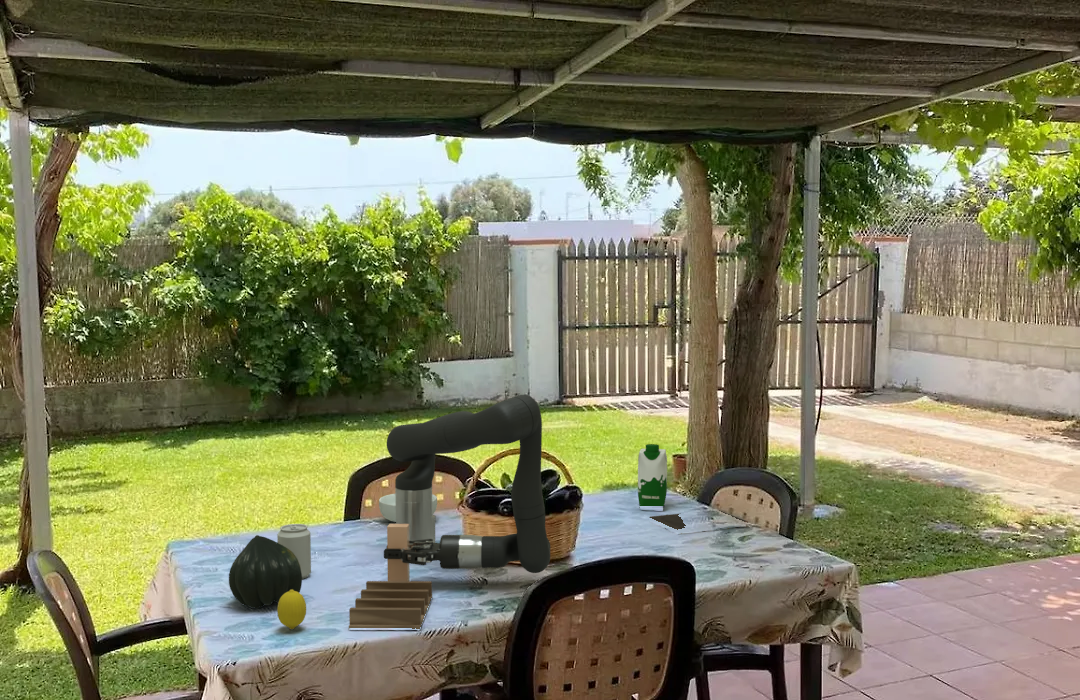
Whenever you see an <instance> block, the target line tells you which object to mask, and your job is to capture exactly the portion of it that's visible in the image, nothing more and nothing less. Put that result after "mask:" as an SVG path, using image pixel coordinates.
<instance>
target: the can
mask: <svg viewBox="0 0 1080 700" xmlns="http://www.w3.org/2000/svg"><path fill="white" fill-rule="evenodd" d="M279 529H280V530H279V532H278V533H277V534H276V535H277V537H276V539H277V541H276V542H277V543H279V544H281V545H283V546H285V547H286V548H288V549H289V550H291V551H292V552H293V553H294V554H295V556H296V557H297V559H298V561H299V564H300V567H301V573H302V580H304V578H305V579H307V578H308V576H310V574H311V573H312V550H311V549H312V548H311V545H312V543H311V538H312V537H311V535H312V534H311V530H309V529H308V525H307V524H303V523H290V524H285V525H282V526H280V528H279Z"/></svg>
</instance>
